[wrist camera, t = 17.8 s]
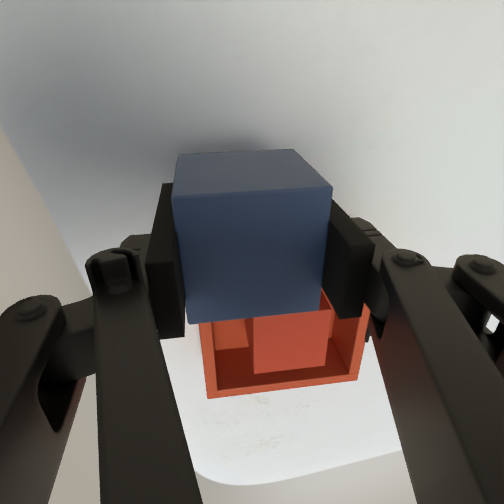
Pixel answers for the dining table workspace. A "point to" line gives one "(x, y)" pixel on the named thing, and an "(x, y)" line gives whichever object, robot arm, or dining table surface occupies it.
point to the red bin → (246, 382)
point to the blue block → (250, 233)
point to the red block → (289, 339)
